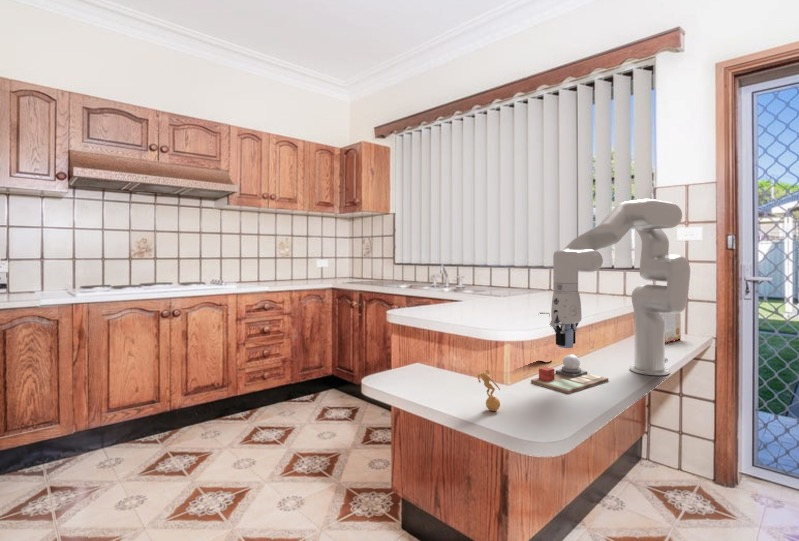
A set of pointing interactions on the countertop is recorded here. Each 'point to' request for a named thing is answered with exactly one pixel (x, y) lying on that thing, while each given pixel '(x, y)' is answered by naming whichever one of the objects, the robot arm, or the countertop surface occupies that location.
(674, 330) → the cracker box
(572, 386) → the game board
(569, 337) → the blue stoppered bottle
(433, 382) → the countertop surface
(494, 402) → the figurine
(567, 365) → the white ball on base
